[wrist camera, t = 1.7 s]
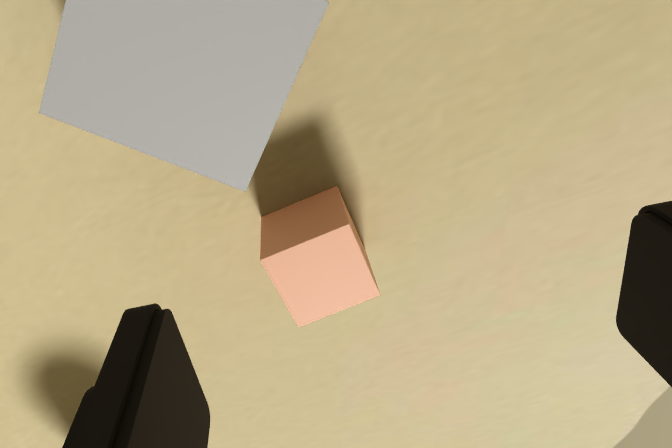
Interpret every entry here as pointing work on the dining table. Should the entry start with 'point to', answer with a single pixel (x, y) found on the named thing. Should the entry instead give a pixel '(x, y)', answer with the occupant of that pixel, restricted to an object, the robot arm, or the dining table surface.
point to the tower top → (181, 76)
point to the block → (316, 257)
